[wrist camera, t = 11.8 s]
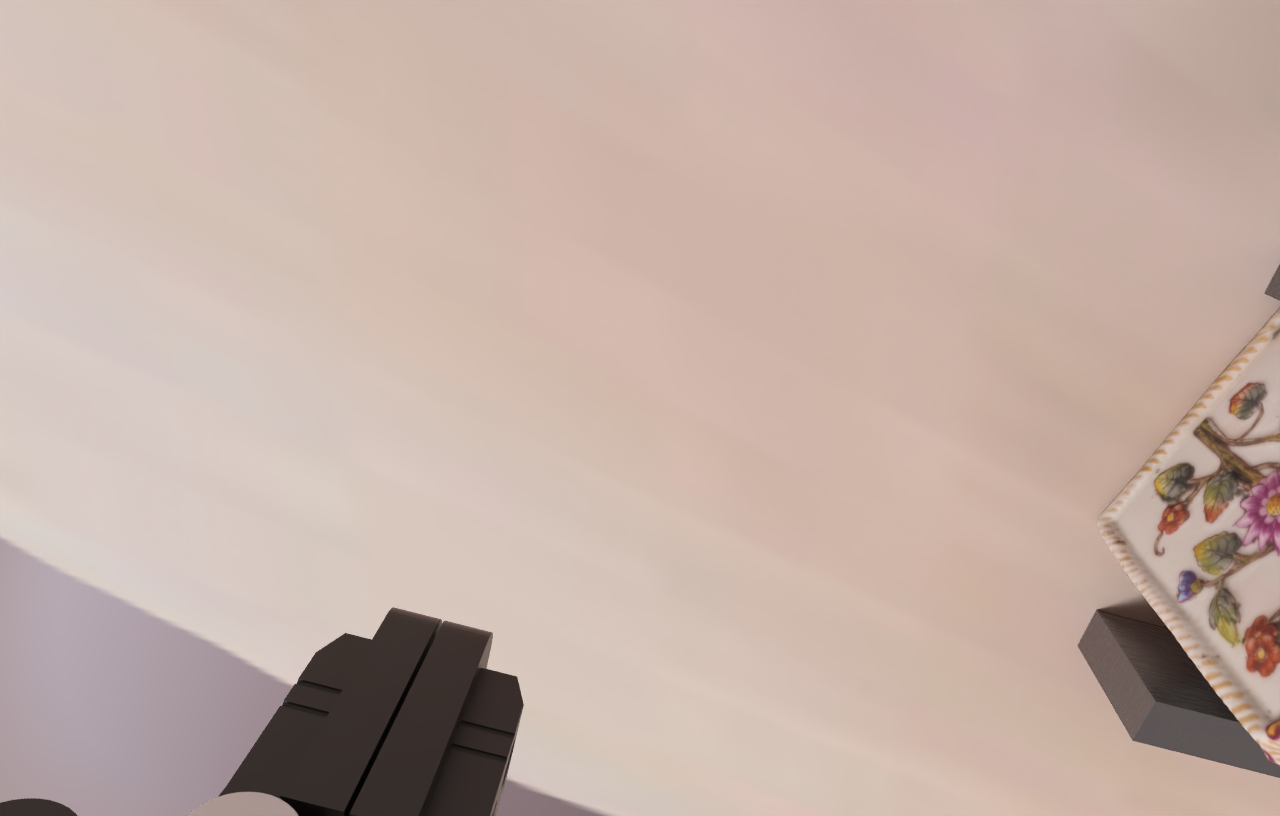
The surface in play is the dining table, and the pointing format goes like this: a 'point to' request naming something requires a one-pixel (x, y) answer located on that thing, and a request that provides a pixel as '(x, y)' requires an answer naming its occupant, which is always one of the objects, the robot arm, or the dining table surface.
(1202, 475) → the decorative jar
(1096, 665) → the grey tray
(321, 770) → the robot arm
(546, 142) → the dining table surface
